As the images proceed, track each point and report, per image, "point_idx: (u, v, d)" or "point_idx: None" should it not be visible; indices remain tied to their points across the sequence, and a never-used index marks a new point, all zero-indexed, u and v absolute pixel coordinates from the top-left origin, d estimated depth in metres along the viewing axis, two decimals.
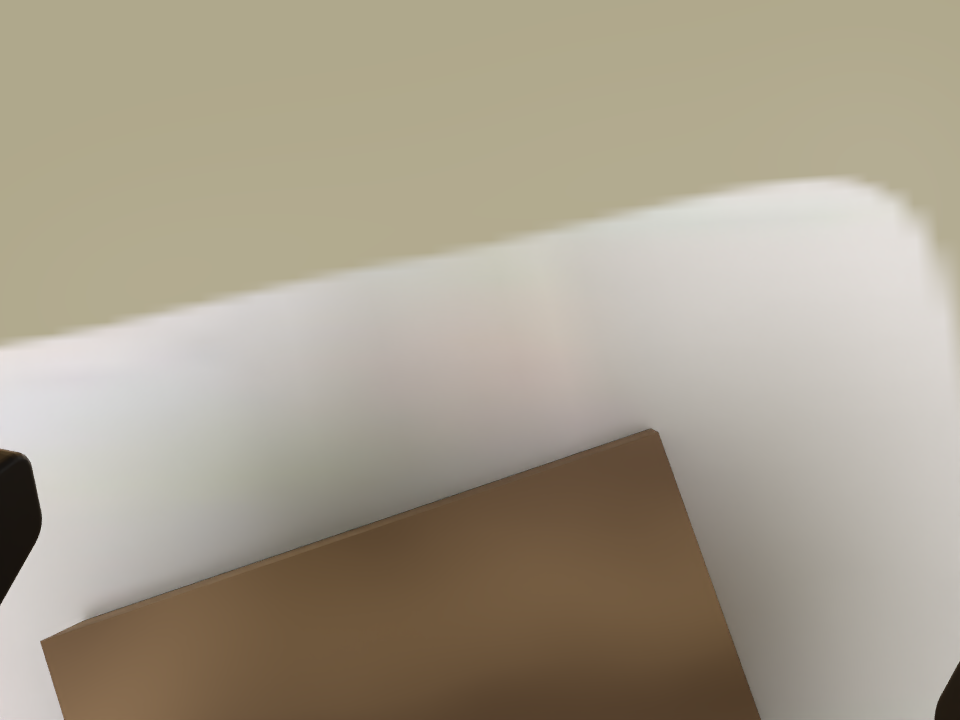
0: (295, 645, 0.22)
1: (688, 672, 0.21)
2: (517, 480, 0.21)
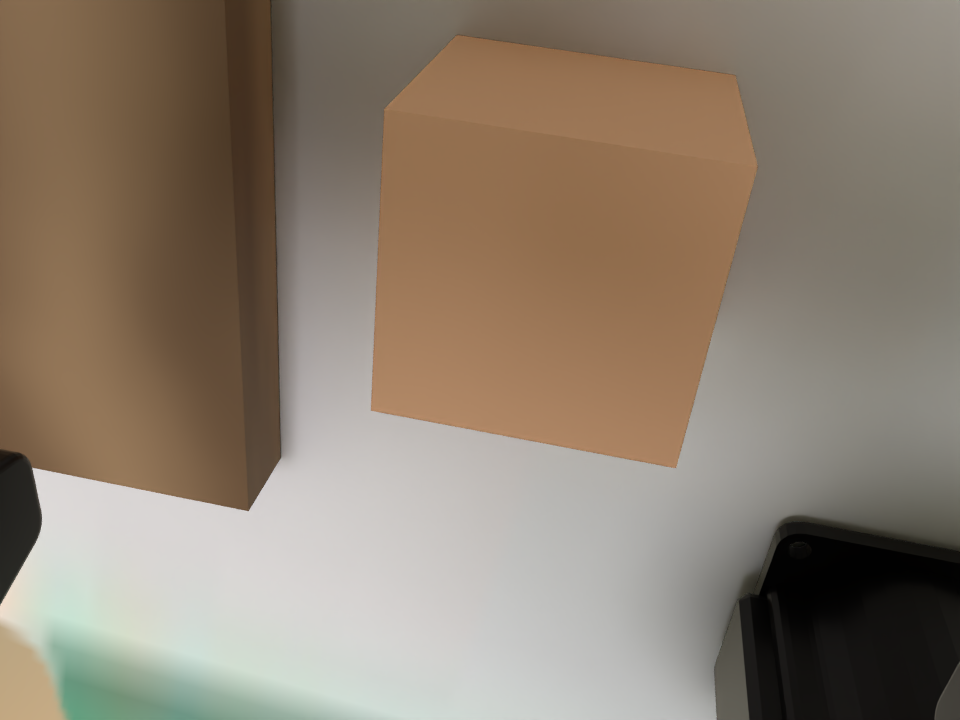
0: None
1: None
2: None
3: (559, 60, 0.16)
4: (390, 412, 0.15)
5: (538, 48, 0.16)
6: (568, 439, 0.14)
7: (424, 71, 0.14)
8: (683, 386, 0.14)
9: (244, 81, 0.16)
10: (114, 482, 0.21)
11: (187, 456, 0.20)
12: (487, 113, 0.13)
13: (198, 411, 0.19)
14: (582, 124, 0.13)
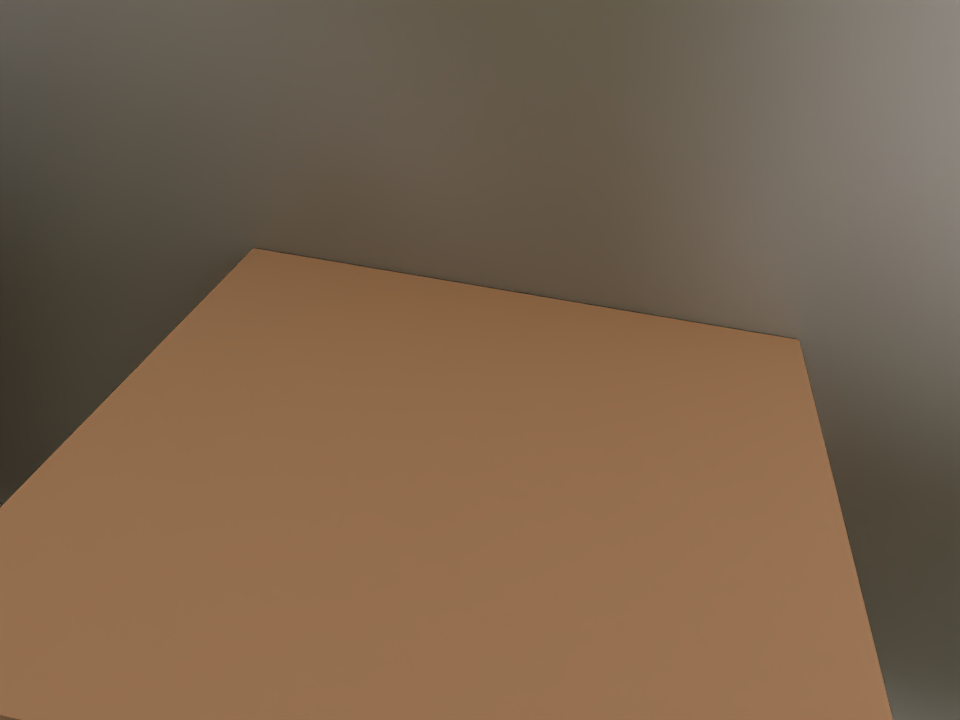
0: None
1: None
2: None
3: (438, 328, 0.08)
4: None
5: (405, 284, 0.08)
6: None
7: (93, 420, 0.06)
8: None
9: None
10: None
11: None
12: (158, 657, 0.04)
13: None
14: (423, 684, 0.04)
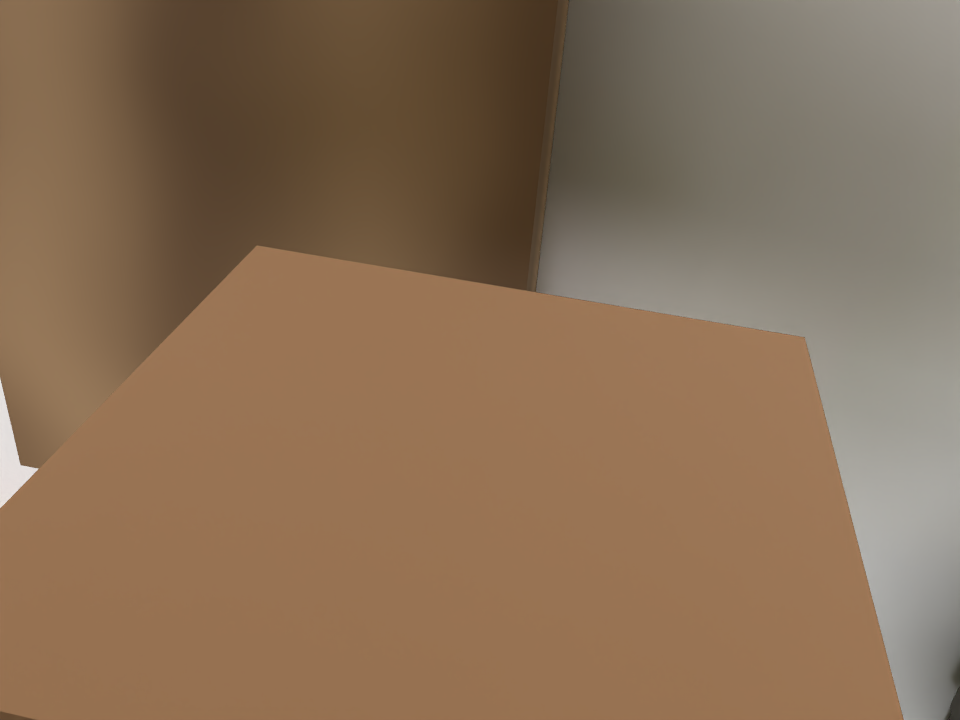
0: (54, 246, 0.19)
1: None
2: None
3: (443, 325, 0.07)
4: None
5: (409, 282, 0.08)
6: None
7: (97, 416, 0.06)
8: None
9: (546, 143, 0.17)
10: None
11: None
12: (163, 650, 0.04)
13: None
14: (431, 681, 0.04)
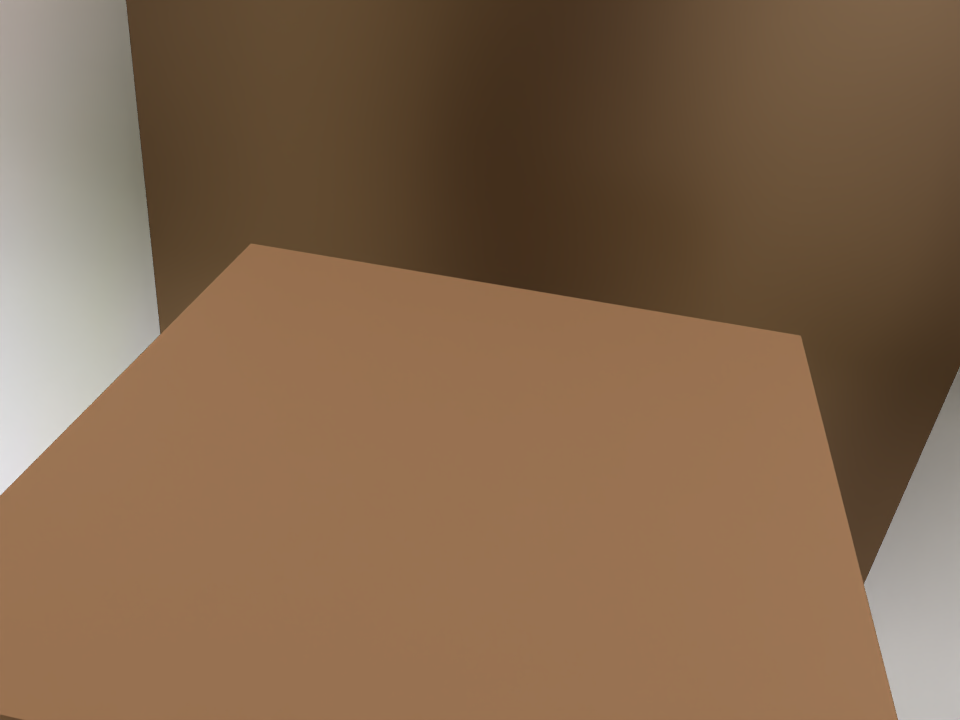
0: None
1: None
2: None
3: (437, 323, 0.07)
4: None
5: (404, 280, 0.08)
6: None
7: (88, 415, 0.06)
8: None
9: None
10: None
11: None
12: (154, 651, 0.04)
13: None
14: (420, 681, 0.04)
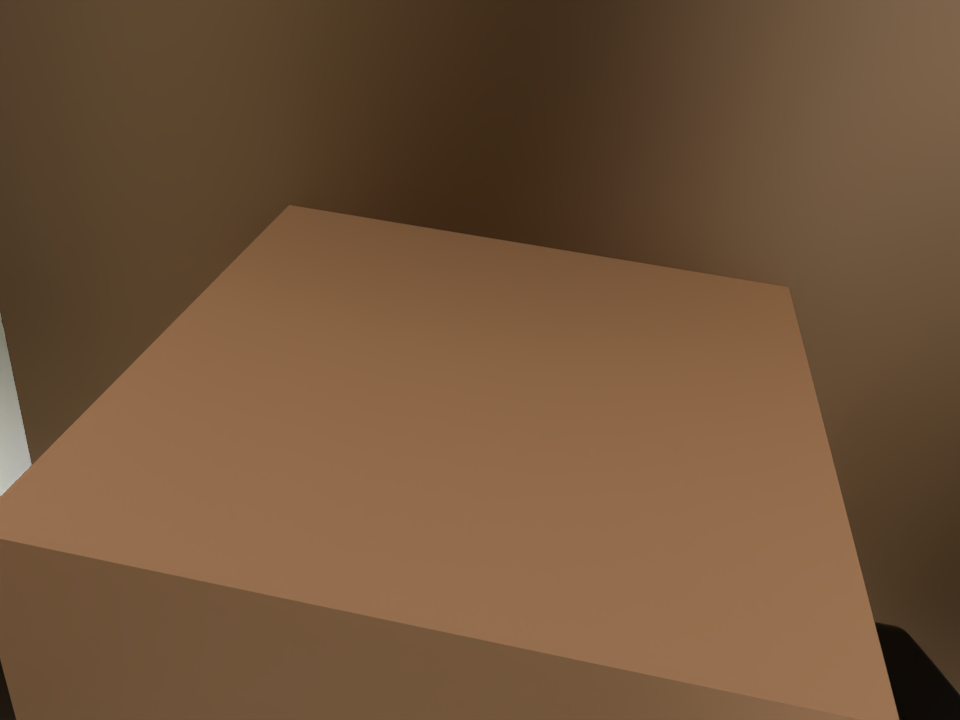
0: None
1: None
2: None
3: (461, 273, 0.08)
4: None
5: (430, 237, 0.09)
6: None
7: (160, 342, 0.07)
8: None
9: None
10: None
11: None
12: (236, 520, 0.05)
13: None
14: (462, 546, 0.05)
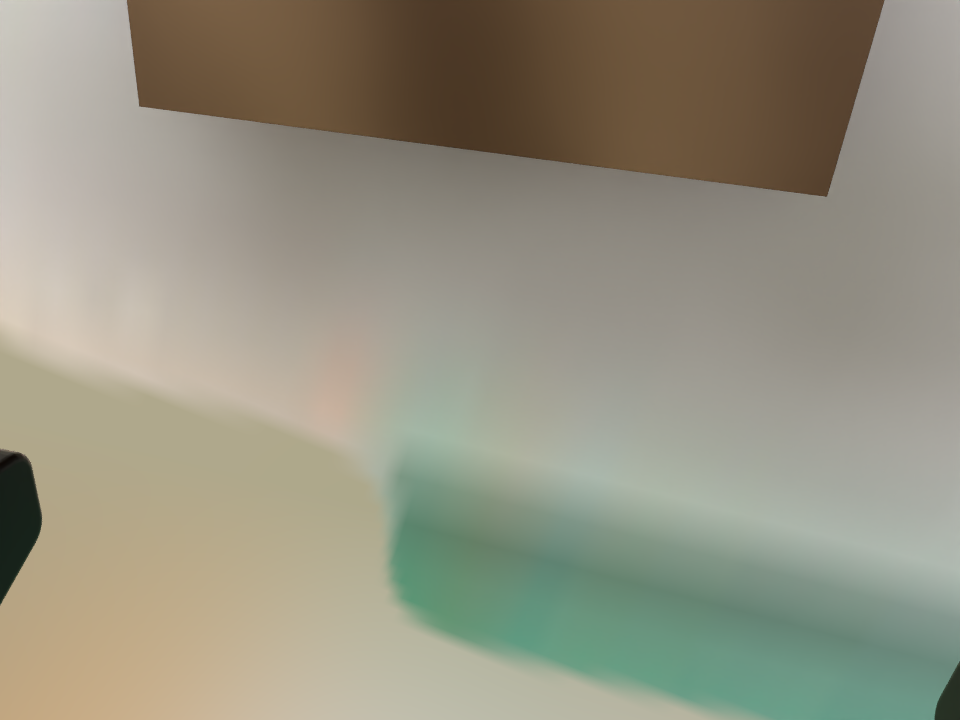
0: None
1: None
2: None
3: None
4: None
5: None
6: None
7: None
8: None
9: None
10: (631, 168, 0.15)
11: (760, 111, 0.14)
12: None
13: (805, 29, 0.14)
14: None
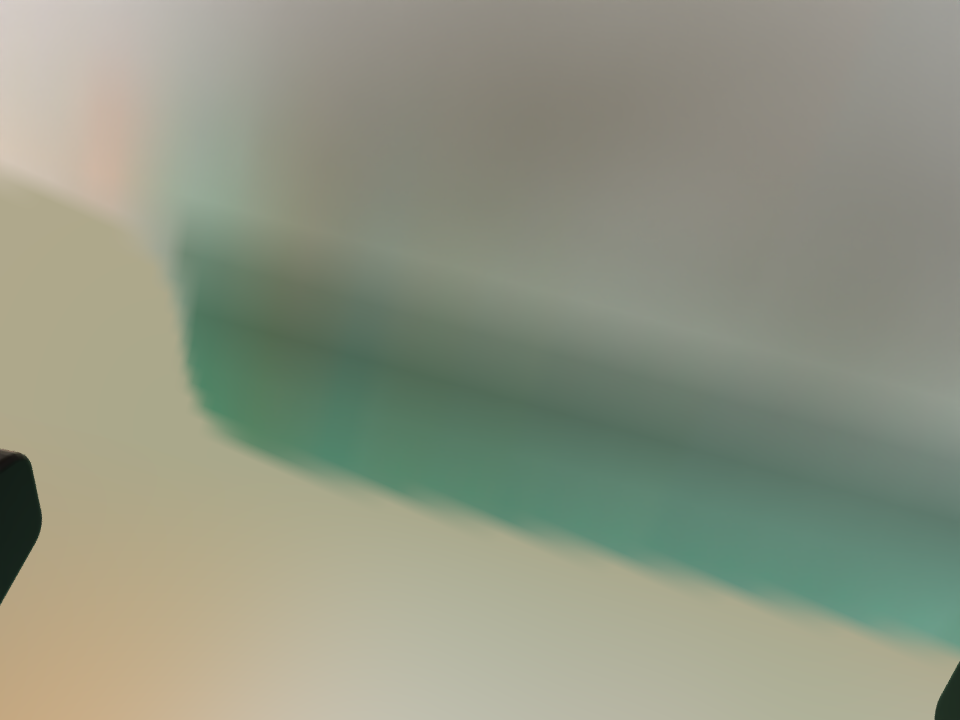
0: None
1: None
2: None
3: None
4: None
5: None
6: None
7: None
8: None
9: None
10: None
11: None
12: None
13: None
14: None
